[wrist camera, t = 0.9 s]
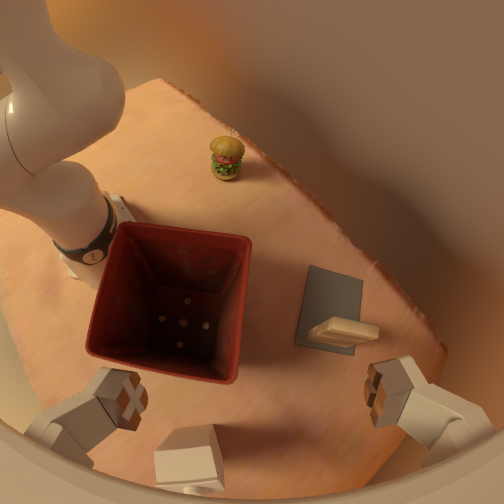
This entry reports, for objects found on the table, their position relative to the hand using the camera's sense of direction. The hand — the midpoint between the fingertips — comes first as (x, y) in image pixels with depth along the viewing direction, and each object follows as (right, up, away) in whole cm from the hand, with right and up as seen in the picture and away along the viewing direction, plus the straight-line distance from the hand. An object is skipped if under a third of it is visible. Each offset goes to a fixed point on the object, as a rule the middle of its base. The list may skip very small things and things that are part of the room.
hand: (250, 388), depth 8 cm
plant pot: (-12, -8, +38) cm, 41 cm away
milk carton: (-9, -28, +29) cm, 41 cm away
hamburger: (-6, +23, +54) cm, 59 cm away
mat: (+15, -7, +42) cm, 45 cm away
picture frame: (+14, -12, +39) cm, 43 cm away
